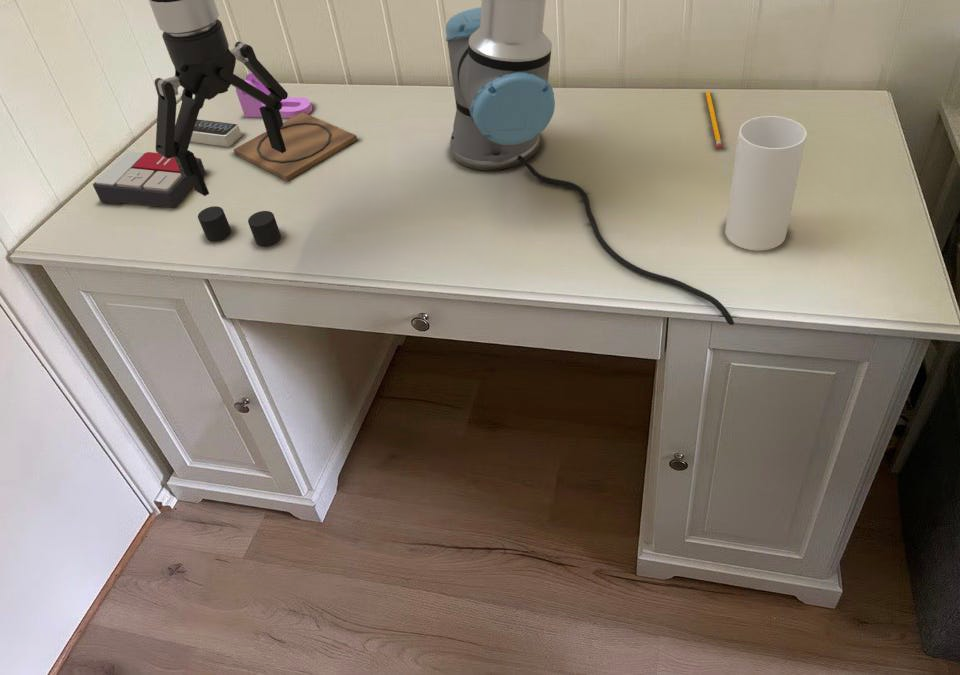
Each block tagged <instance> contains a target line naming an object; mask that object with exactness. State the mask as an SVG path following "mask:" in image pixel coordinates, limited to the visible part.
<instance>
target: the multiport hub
mask: <svg viewBox="0 0 960 675" xmlns="http://www.w3.org/2000/svg"><path fill="white" fill-rule="evenodd" d="M242 136H243V134H242V132H241V129H240V126H239V124H238V123H232V122H231V123H230V122H225V121H224V122H223V121H214V120H206V119H200V118H197V120H196V124H195V127H194V130H193V134H192V137H191V140H190V143H196V144H203V145H210V146H218V147H225V148H226V147H227V148H229V147H232V145H234V144H235V143H236V142H237V141H238V140H239V139H240V138H242Z"/></svg>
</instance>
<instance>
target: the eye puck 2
mask: <svg viewBox="0 0 960 675" xmlns="http://www.w3.org/2000/svg"><path fill="white" fill-rule="evenodd" d="M247 223H248V226H249V228H250V231H251V234H252V236H253V239H254V242H255V244H256V245H257V246H258V247H262V248H269V247H273V246H275V245H276V244H278V243H279V241H281V239H282V234H281V232H280V228H279V226H278V222H277V219H276V217H275V215H274V213H273V212H272V211H270V210H260V211H257V212H255V213H253V214H251V215H250V216H249V217H248V220H247Z"/></svg>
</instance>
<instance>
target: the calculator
mask: <svg viewBox="0 0 960 675" xmlns="http://www.w3.org/2000/svg"><path fill="white" fill-rule="evenodd" d="M195 159H196V161H197V164H198V166H199V169H200V171H201V174H202V176H203V177H204V175H205V174H206V169H205V167H204V164H203V161H202V159H201V158H199V157H197V156H195ZM92 187H93V189H94V191H95V193H96V195H97V197H98V198H99V202H100V203H104V204H114V205H119V204H122V203H129V204H137V205H146V206H153V207H154V206H156V207H163V208H171V209H172V208H173V209H174V208H177V207H178V206H179V204H180V203H181V202H182V201H183V200H184V199H185V197H186V196H188V194H189V193H190V192H191V191H192V189H194V188H193V185H192V183H191V180H190V178H189V177H187V176H185V175H183V174H182V173H181V172H180V170H179V168H178V165H177V163H176V160H175V158H174V157H172V158H170V159H168V158H166V157H164V156H162V155H160V154H159V153H157V152H152V151H146V152H142V151H132V150H126V151H125V152H124V153H123V154H122V155H121V156H120V157H119V158H118V159H117V160H116V161H115V162H114V163H113V164H112V165H111V166H110V167H109V168H108V169H107V170H106V171H105V172H103V174H101V175H100V176H99V178H97V180H95V182H94V183H92Z"/></svg>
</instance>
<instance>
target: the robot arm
mask: <svg viewBox="0 0 960 675" xmlns="http://www.w3.org/2000/svg"><path fill="white" fill-rule="evenodd" d="M546 2H547V0H481V6H480V7H475V8H474V7H473V8H470V9H466V10H464V11H460V12H458V13H456V14H454V15H453V16H452V17H450V18H449V19H448V21H447V22H446V25H445V33H446V37H445V41H446V42H447V49H448V56H449V64H450V70H451V71H450V72H451V78H452V86H453V87H452V88H453V93H454V101H455V108H456V111H455V115H454V121H453V128H452V132H451V135H450V142H449V144H450V151H451V155H452V157H453V159H454V160H455V161H456V162H458V163H459V164H460V165H462V166H463V167H467V168H470V169H474V170H479V171H499V170H506V169H509V168H514V167H517V166H519V165H523V166H524V167H525V168H526V169H527V170H528V171H529V172H530V173H531V175H532V176H534V177H535V178H536V179H537V180H540V181H542V182H545V183H548V184H551V185H557V186H562V187H567V188H569V189H570V188H571V189H572V190H574V191H576V192H578V193H579V195H580V196H581V197H582V200H583V203H584V209H585V213H586V215H587V218H588V221H589V223H590V226H591V229H592V232H593V234H594V236H595V238H596V240H597V241H598V243H599V244H600V246H601V247H602V248H603V249H604V250H605V251H606V252H607V253H608V255H610V256H611V257H612V258H613V259H614V260H615V261H616V262H618V263H619V264H621V265H623V266H624V267H626V268H627V269H629V270H631V271H633V272H635V273H637V274H639V275H641V276H643V277H646V278H648V279H652V280H656V281H659V282H663V283H666V284H669V285H672V286H675V287H677V288H680V289H682V290H685V291H686V292H689V293H690V294H693V295H695V296H697V297H699V298H702V299H704V300H705V301H708V302H709V303H710V304H712V305H713V306H714V307H715V308H716V309H717V310H718V311H719V312H720V314H721V315H722V316H723V318H724V319H725V321H726V323H727V324H728V325H730V326H733V325H735V321H734V319H733V317H732V315H731V314H730V312H729V311H728V310H727V308H726V307H725V306H724V305H723V304H722V302H721V301H719V300H718V299H717V298H715V297H714V296H712V295H711V294H709V293H706V292H705V291H702V290H700V289H698V288H695V287H693V286H691V285H690V284H687V283H684V282H682V281H681V280H678V279H675V278H672V277H669V276H666V275H662V274H658V273H654V272H650V271H648V270H645V269H643V268H641V267H639V266H636V265H635V264H633V263H631V262H630V261H628V260H626V259H625V258H624V257H622V256H620V255H619V254H618V253H617V252H616V251H615V250H614V249H612V247H611V246H610V245H609V244H608V243H607V242H606V240H605V239H604V238H603V236H602V234H601V232H600V230H599V227H598V224H597V222H596V220H595V219H596V218H595V217H594V215H593V211H592V209H591V204H590V199H589V196H588V194H587V193H586V191H585V190H584V189H583V188H582V187H581V186H579V185H578V184H576V183H573V182H571V181H567V180H562V179H555V178H551V177H548V176H545V175H542V174H540V173H539V172H538V171H537V170H536V169H535V168H534V167H533V166H532V165H531V163H529V161H528V160H530V159H531V158H533V157H534V156H535V155H536V153H538V151H539V149H540V145H541V139H540V137H541V136H540V133H542V132H543V131H544V130H545V129H546V128H547V126H548V125H549V124H550V122H551V120H552V118H553V116H554V113H555V109H556V108H555V107H556V100H555V93H554V89H553V87H552V86H551V83H550V82H549V75H550V67H551V59H552V58H551V56H552V49H553V48H552V47H553V45H552V42H551V40H550V38H549V37H548V36H547V35H546V34H545V33H544V21H545V12H546V11H545V10H546ZM148 3H149V6H150V8H151V10H152V13H153V16H154V18H155V21H156V24H157V26H158V29H159V30H160V31H162V36H161V37H162V40H163V42H164V45H165V47H166V50H167V53H168V56H169V59H170V60H171V63H172V64H173V67H174V76H171V77H167V78H164V79H163V78H162V77H156V78H155V80H154V87H155V90H156V93H157V113H156V129H155V130H156V132H155V135H156V136H155V153H159V154H160V155H162V156H164V157H166V158H168V159H170V158H172V157H174V158H175V160H176V163H177V165H178V168H179V170H180V172H181V173H182V174H183V175H185V176H187V177H189V178H190V180H191V183H192V185H193V188H192V189H193V190H194V191H196V192H197V193H199V194H200V195H202V196H204V197H207V196H208V195H210V192H209V189H208V186H207V184H206V182H205V179H204V176H202V174H201V171H200V169H199V166H198V164H197V161H196V159H195V157H196V155H195V153H194V152H192V151H190V149H189V146H190V144H191V142H190V140H191V137H192V134H193V130H194V127H195V124H196V120H197V119H198V117H199V113H200V111H201V109H203V107H204V105H205V102H206V100H208V101H211V100H212V99H214V98H215V97H217V96H218V95H220V94H225V93H226V92H228V91H229V88H230V87H231V86H232V87H234V88H235V89H236V88H238V89H239V90H241V91H243V92H244V93H246V94H248V95H249V96H251V97H253V98H255V99H256V100H258V101H260V102H261V103H263V104H265V106H266V107H265V106H262V107H260V108H259V109H260V112H261V115H262V117H261V118H262V121H263V125H264V128H265V132H266V131H267V134H268V138H269V141H270V144H271V147H272V148H273V149H275V150H277V151H279V152H281V153H284V152H285V151H286V148H285V144H284V141H283V138H282V134H281V131H280V128H281V127H283V122H284V121H283V118H281V114H280V111H279V110H280V109H281V108H282V103H281V101H282V100H283V99H284V100H285V99H286V98H287V97H289V94H288V91H287V90H285V88H284V87H283V86H282V85H281V84H280V83H279V82H278V80H276V78H275V77H274V76H273V75H272V74H271V73H270V72H269V70H268V69H266V67H265V66H264V65H263V64H262V63H261V62H260V61H259V60H258V58H257V56H256V53H255V51H254V48H253V47H252V46H251V45H250V44H247V43H244V42H242V41H236V42H235V44H234V48H232V49H231V50H230V44H229V40H228V39H227V35H226V33H225V28H224V26H223V23H222V21H221V20H220V19H219V17H220V13H219V11H218V8H217V4H216V1H215V0H148ZM237 62H240V63H242V64H243V65H244V66H245V67H246V69H247V70H249V71H250V72H252V73H253V74H254V76H255V77H256V78H257V79H258V80H259V81H260V82H261V83H262V84H263V85H264V86H265V87H266V88H267V89H268V91H269V92H270V94H269V95H267V94H265V93H264V92H262V91H260V90H259V89H257V88H255V87H254V86H252V85H250V84H249V83H247V82H246V81H244V80H245V79H243V78H241V77H239V76H238V75H236V74H235V73H234V72H235V68H236V63H237ZM179 87H182V88H183V90H182V93H181V97H180V100H181V105H180V107H179V112H178V113H177V96H178V95H179ZM177 114H178V115H177Z"/></svg>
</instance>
